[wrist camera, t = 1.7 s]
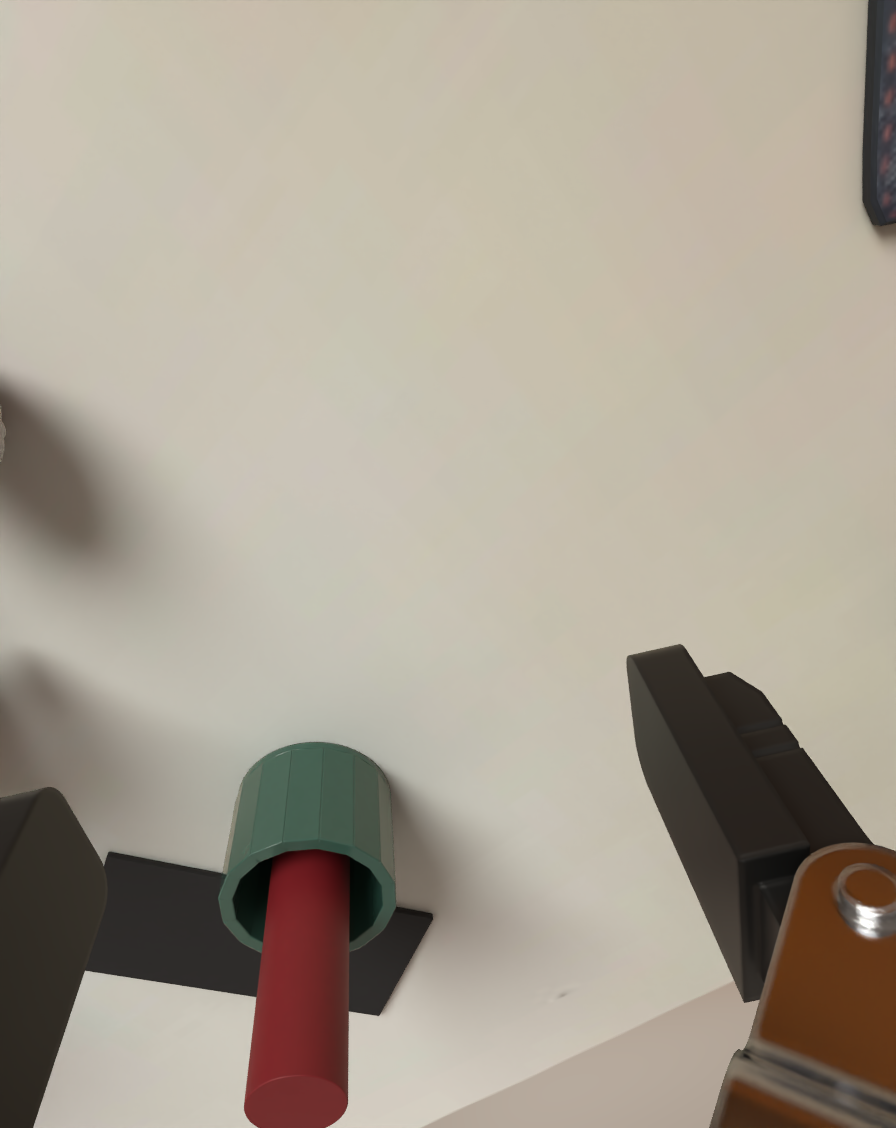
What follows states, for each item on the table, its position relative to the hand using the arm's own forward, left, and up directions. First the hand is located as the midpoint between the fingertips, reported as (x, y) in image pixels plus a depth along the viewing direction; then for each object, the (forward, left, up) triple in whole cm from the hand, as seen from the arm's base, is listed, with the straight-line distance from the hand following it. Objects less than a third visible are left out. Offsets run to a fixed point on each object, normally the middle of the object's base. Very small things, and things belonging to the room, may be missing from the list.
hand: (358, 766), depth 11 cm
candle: (-6, +25, -26) cm, 37 cm away
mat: (-6, +37, -26) cm, 46 cm away
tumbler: (-6, +25, -26) cm, 37 cm away
